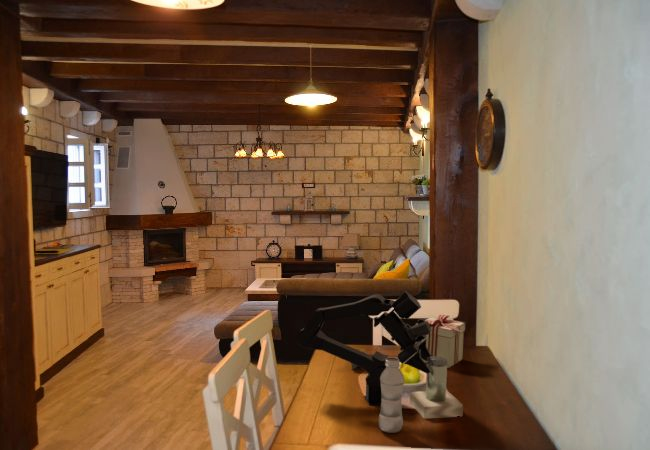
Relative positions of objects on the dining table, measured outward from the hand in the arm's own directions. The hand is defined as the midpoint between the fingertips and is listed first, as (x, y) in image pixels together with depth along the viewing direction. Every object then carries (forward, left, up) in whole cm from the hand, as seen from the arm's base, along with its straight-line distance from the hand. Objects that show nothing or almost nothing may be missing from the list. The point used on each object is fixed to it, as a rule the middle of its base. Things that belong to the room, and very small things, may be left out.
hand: (431, 368), depth 163 cm
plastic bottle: (-17, -13, -13) cm, 25 cm away
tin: (+1, -1, -9) cm, 9 cm away
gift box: (+23, +45, -13) cm, 53 cm away
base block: (+1, -1, -13) cm, 13 cm away
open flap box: (-12, +41, -13) cm, 45 cm away
